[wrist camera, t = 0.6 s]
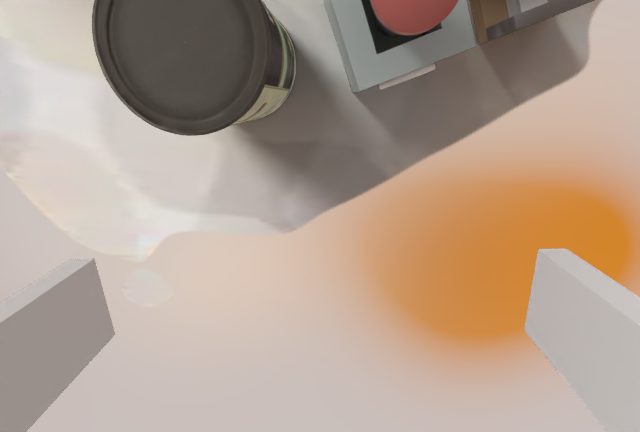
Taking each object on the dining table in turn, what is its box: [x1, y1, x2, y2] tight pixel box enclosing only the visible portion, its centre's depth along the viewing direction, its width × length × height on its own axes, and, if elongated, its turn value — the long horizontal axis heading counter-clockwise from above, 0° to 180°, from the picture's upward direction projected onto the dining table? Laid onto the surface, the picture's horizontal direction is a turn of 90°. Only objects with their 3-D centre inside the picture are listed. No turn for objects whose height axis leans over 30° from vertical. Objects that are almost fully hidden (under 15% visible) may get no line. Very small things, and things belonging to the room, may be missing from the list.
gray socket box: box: [324, 0, 476, 93], centre depth 27 cm, size 8×8×10 cm
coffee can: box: [92, 0, 296, 136], centre depth 27 cm, size 10×10×14 cm
